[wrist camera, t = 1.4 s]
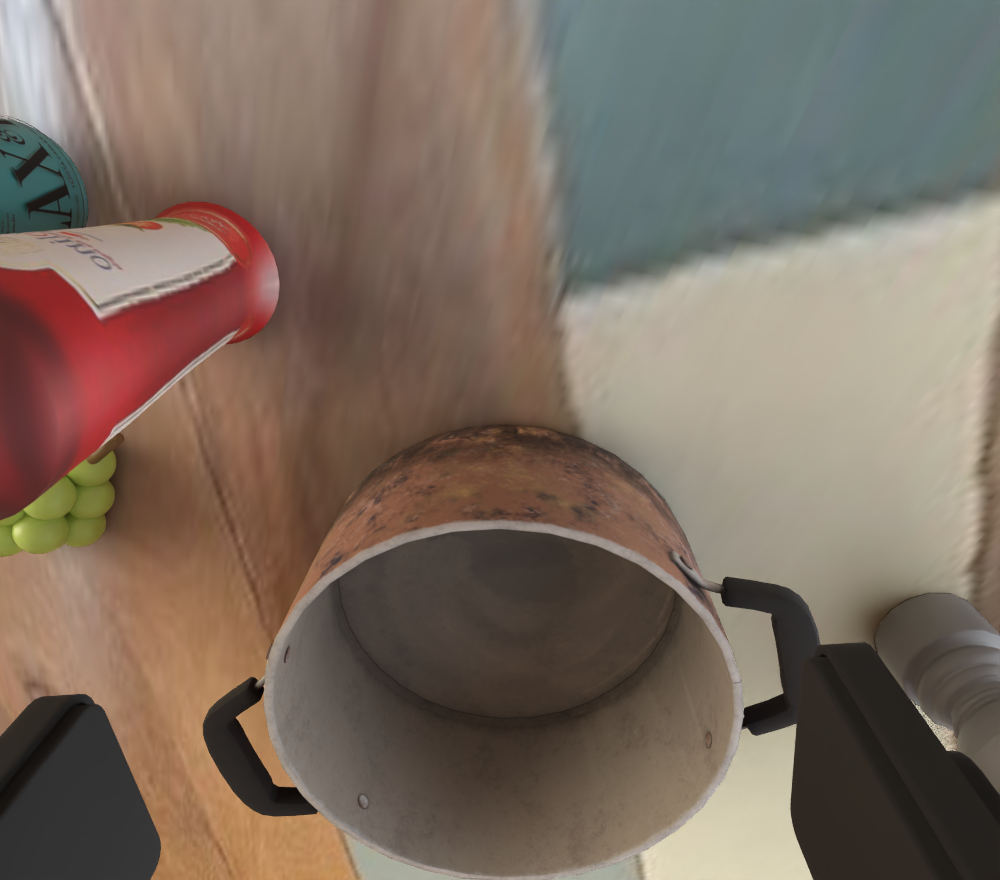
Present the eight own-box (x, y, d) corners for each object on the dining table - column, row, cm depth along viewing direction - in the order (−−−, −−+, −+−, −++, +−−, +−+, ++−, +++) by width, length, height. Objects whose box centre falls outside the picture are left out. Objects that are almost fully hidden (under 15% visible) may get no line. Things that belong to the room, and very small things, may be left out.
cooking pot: (725, 356, 35) (803, 440, 25) (776, 678, 44) (850, 833, 34) (205, 489, 39) (100, 605, 30) (344, 759, 48) (298, 919, 38)
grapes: (90, 373, 37) (36, 402, 33) (187, 466, 39) (147, 505, 35) (-36, 488, 40) (-101, 527, 36) (59, 568, 42) (9, 614, 38)
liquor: (154, 333, 36) (-786, 817, 10) (140, 186, 33) (-1240, 341, 7) (293, 349, 36) (-288, 868, 10) (291, 203, 33) (-537, 420, 7)
